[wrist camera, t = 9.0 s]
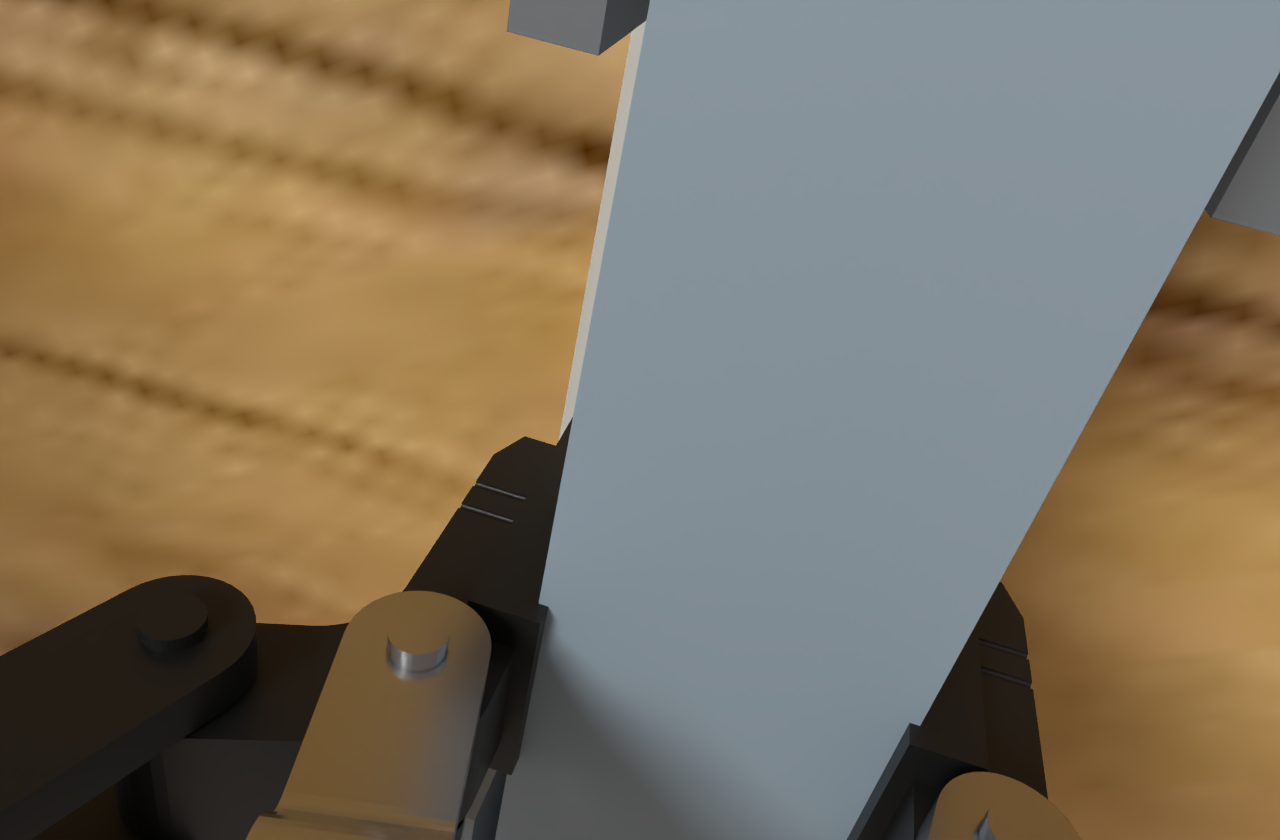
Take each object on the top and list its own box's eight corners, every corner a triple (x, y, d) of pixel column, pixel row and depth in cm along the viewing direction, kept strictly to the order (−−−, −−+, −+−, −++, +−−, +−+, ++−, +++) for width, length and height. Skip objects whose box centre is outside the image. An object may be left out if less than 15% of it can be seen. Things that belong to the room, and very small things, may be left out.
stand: (741, -507, 15) (412, -1136, 5) (1348, -383, 14) (2337, -853, 4) (545, 558, 27) (339, 967, 17) (862, 658, 26) (831, 1147, 16)
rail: (834, -418, 8) (763, -618, 4) (1258, -328, 8) (1570, -459, 4) (544, 826, 18) (449, 1087, 14) (725, 888, 18) (675, 1172, 14)
